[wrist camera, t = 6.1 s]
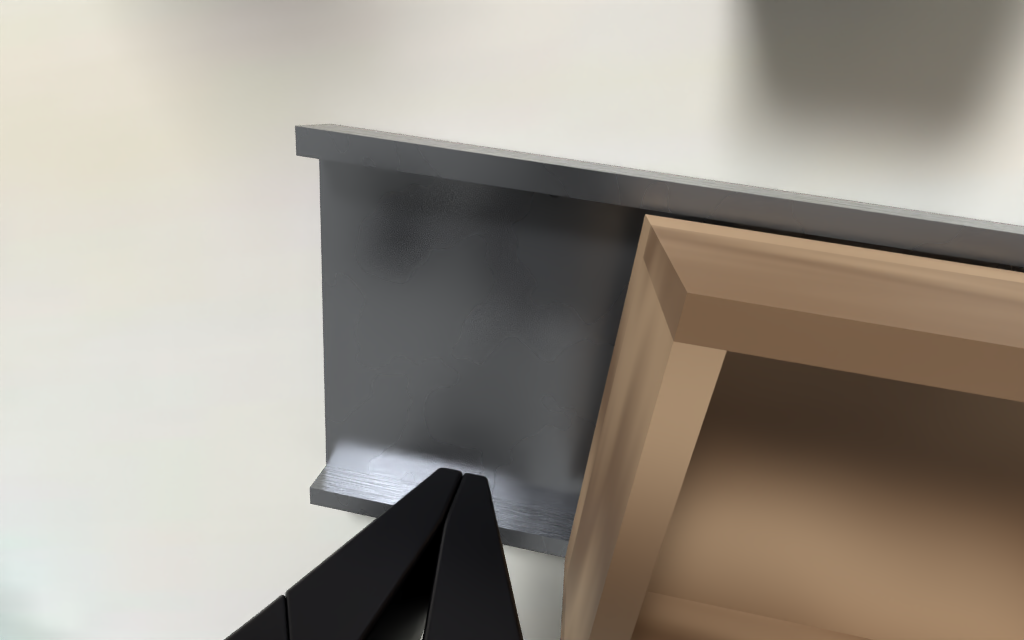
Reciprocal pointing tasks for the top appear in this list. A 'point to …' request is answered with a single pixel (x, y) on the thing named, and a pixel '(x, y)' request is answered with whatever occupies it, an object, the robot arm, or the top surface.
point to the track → (517, 306)
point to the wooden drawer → (803, 447)
